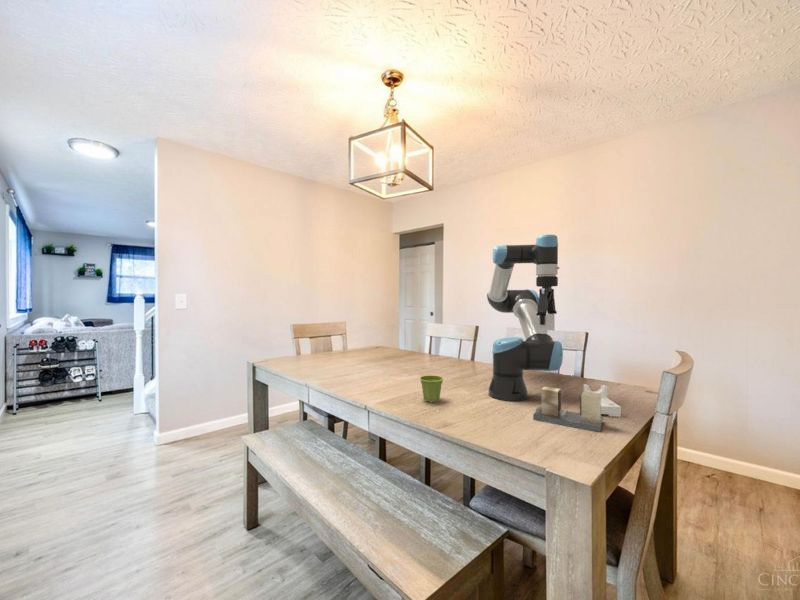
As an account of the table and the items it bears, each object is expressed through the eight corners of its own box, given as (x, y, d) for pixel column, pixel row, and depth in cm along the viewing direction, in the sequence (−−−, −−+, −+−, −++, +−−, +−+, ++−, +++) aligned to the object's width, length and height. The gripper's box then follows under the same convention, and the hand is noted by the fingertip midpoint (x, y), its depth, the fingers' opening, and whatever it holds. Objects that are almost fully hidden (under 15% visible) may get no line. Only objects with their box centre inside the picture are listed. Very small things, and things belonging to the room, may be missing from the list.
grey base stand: (533, 419, 111) (533, 390, 111) (540, 410, 119) (540, 383, 119) (600, 432, 100) (600, 400, 100) (602, 421, 109) (602, 392, 109)
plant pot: (448, 401, 131) (448, 379, 131) (427, 405, 126) (427, 382, 126) (435, 395, 139) (435, 374, 139) (415, 398, 135) (415, 376, 135)
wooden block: (561, 412, 113) (561, 388, 113) (559, 416, 110) (559, 391, 109) (544, 409, 116) (544, 386, 116) (541, 413, 113) (541, 389, 112)
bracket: (583, 404, 127) (583, 384, 127) (604, 405, 126) (604, 384, 126) (597, 416, 114) (597, 394, 114) (620, 417, 113) (620, 395, 113)
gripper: (550, 274, 116) (550, 335, 117) (563, 277, 137) (563, 329, 137) (528, 275, 121) (528, 334, 121) (543, 277, 141) (543, 328, 141)
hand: (547, 332), depth 129 cm, fingers open, 13 cm apart
